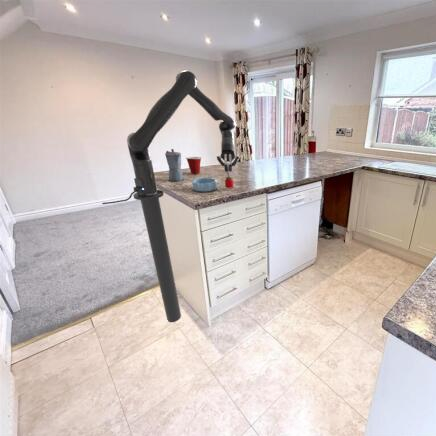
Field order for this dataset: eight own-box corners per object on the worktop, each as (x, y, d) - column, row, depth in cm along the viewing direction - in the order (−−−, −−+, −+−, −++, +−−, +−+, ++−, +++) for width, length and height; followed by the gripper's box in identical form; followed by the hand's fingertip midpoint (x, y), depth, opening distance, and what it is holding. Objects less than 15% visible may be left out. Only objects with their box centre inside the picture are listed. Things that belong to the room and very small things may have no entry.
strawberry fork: (230, 188, 145) (228, 164, 140) (223, 187, 147) (221, 163, 142) (235, 186, 149) (233, 163, 144) (228, 185, 151) (227, 162, 146)
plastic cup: (206, 172, 185) (204, 156, 180) (197, 175, 175) (195, 158, 170) (194, 171, 187) (192, 155, 183) (184, 174, 178) (182, 157, 173)
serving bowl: (205, 193, 139) (204, 185, 137) (188, 189, 144) (186, 181, 142) (221, 187, 150) (221, 179, 148) (205, 184, 155) (204, 176, 153)
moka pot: (176, 183, 156) (171, 150, 148) (162, 179, 163) (156, 148, 155) (189, 180, 164) (185, 149, 156) (175, 176, 171) (170, 146, 163)
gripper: (215, 142, 144) (215, 167, 138) (239, 143, 147) (240, 167, 140) (216, 150, 151) (216, 174, 145) (239, 150, 153) (240, 174, 147)
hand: (228, 171), depth 143 cm, fingers closed on strawberry fork, 1 cm apart
